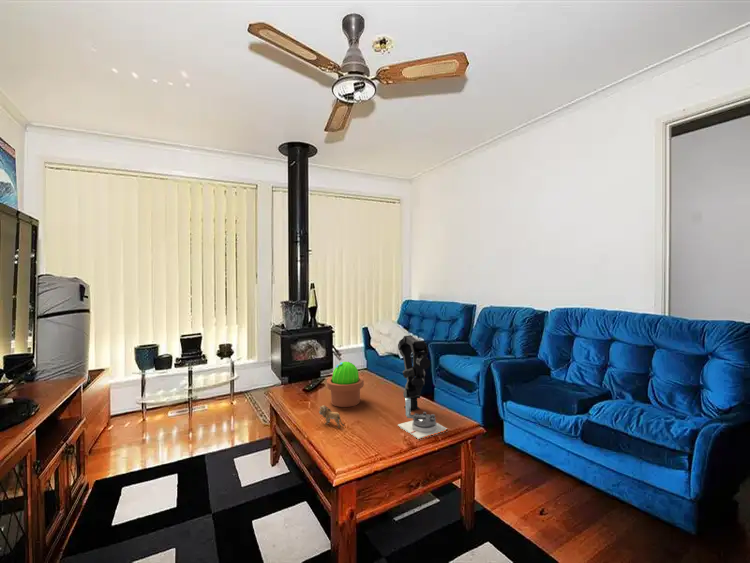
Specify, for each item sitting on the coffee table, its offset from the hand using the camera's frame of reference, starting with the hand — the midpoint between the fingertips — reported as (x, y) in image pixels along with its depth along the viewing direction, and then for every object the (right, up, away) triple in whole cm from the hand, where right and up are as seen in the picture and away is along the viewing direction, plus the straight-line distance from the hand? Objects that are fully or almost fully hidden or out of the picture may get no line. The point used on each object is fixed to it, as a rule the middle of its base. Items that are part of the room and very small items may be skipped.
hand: (418, 393), depth 189 cm
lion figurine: (-46, -14, -7) cm, 49 cm away
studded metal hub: (-1, -10, -14) cm, 17 cm away
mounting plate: (0, -13, -14) cm, 19 cm away
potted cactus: (-41, -13, +24) cm, 49 cm away
